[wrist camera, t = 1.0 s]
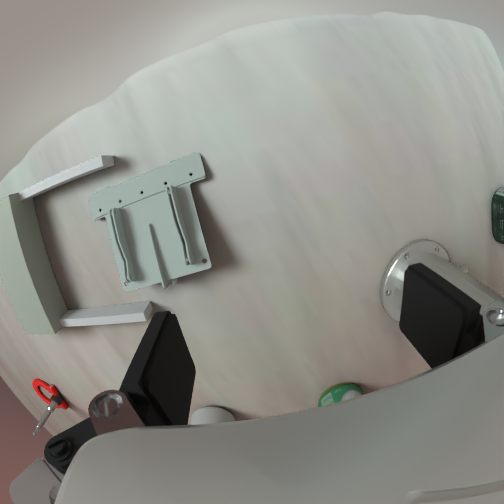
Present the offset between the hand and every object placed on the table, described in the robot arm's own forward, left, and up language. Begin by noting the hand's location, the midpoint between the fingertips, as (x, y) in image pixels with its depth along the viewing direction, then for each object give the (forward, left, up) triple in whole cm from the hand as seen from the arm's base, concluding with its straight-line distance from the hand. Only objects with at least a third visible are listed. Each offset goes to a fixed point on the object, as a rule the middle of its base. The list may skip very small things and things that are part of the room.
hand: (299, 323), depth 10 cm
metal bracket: (+12, -1, -22) cm, 25 cm away
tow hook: (+51, +28, -22) cm, 63 cm away
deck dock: (+27, -1, -21) cm, 35 cm away
